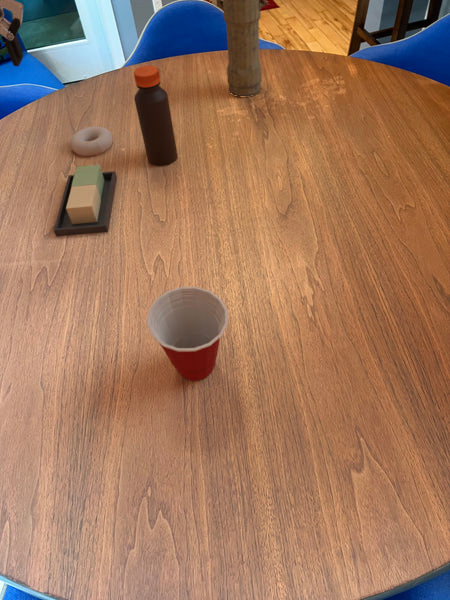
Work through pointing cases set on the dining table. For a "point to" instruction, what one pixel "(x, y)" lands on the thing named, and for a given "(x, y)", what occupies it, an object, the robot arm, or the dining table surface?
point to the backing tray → (102, 225)
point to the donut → (91, 141)
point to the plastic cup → (189, 329)
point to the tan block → (83, 204)
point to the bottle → (154, 117)
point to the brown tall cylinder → (243, 45)
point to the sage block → (89, 177)
